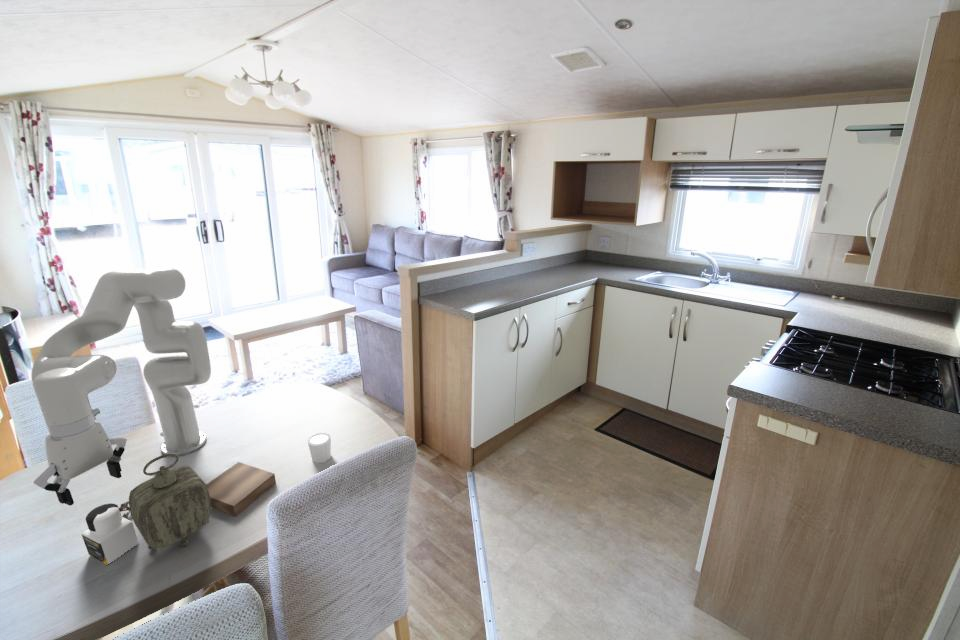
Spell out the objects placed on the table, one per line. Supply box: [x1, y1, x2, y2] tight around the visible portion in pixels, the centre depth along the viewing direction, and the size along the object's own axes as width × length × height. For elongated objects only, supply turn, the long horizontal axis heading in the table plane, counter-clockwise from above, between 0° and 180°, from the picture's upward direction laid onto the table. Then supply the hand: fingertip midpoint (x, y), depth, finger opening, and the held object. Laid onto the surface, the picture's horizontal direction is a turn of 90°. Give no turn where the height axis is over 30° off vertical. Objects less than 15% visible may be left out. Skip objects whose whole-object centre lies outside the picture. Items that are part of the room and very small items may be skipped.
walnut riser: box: [205, 461, 277, 517], centre depth 127 cm, size 14×14×4 cm
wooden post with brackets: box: [119, 500, 131, 519], centre depth 116 cm, size 2×8×4 cm, turn 146°
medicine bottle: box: [81, 503, 139, 566], centre depth 106 cm, size 7×7×12 cm
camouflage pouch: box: [128, 454, 212, 550], centre depth 107 cm, size 14×9×25 cm, turn 140°
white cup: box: [307, 432, 332, 464], centre depth 142 cm, size 7×7×7 cm
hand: (93, 489), depth 102 cm, fingers open, 9 cm apart
